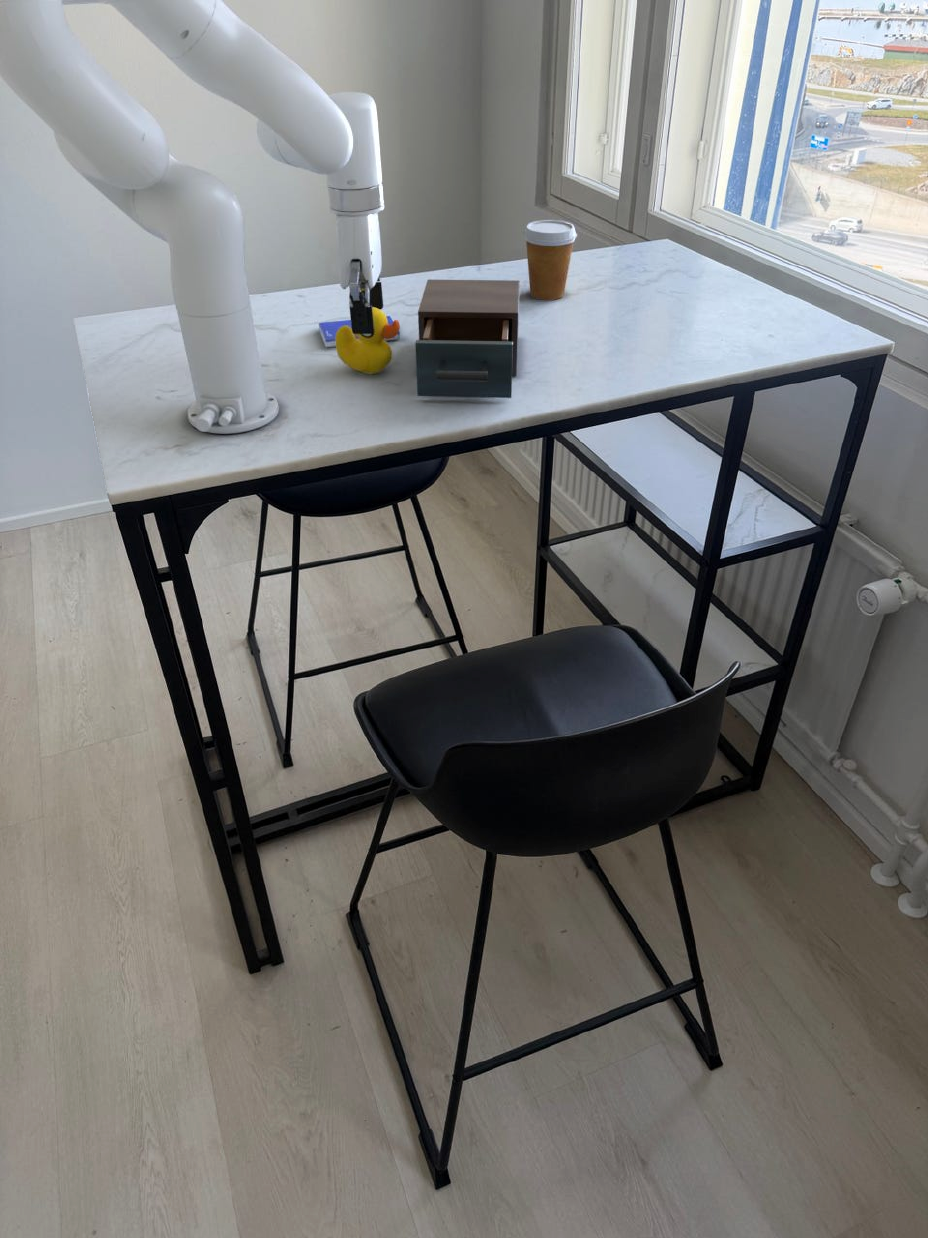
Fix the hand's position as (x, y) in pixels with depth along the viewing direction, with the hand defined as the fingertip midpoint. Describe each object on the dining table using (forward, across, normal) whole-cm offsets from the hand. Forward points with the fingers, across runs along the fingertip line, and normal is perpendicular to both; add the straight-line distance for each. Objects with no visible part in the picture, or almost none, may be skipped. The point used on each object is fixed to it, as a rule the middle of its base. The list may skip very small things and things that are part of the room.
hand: (368, 320), depth 130 cm
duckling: (+8, 0, 0) cm, 8 cm away
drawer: (+7, +7, +15) cm, 18 cm away
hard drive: (+8, -14, -4) cm, 17 cm away
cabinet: (+8, -6, +15) cm, 18 cm away
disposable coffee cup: (+9, -36, +28) cm, 47 cm away
